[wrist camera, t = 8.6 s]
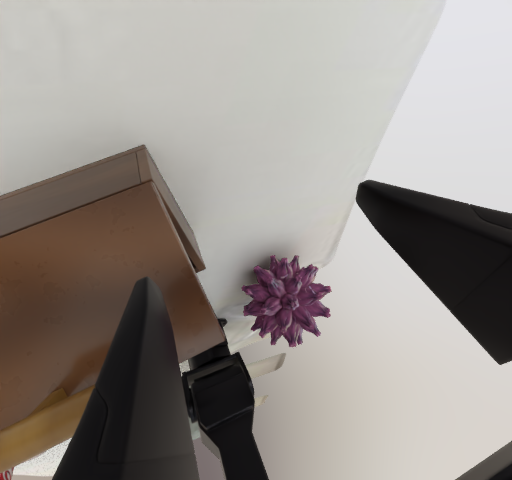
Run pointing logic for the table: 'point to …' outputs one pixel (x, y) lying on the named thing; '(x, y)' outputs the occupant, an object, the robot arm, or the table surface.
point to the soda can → (6, 474)
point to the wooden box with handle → (84, 310)
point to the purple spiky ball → (286, 300)
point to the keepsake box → (93, 195)
